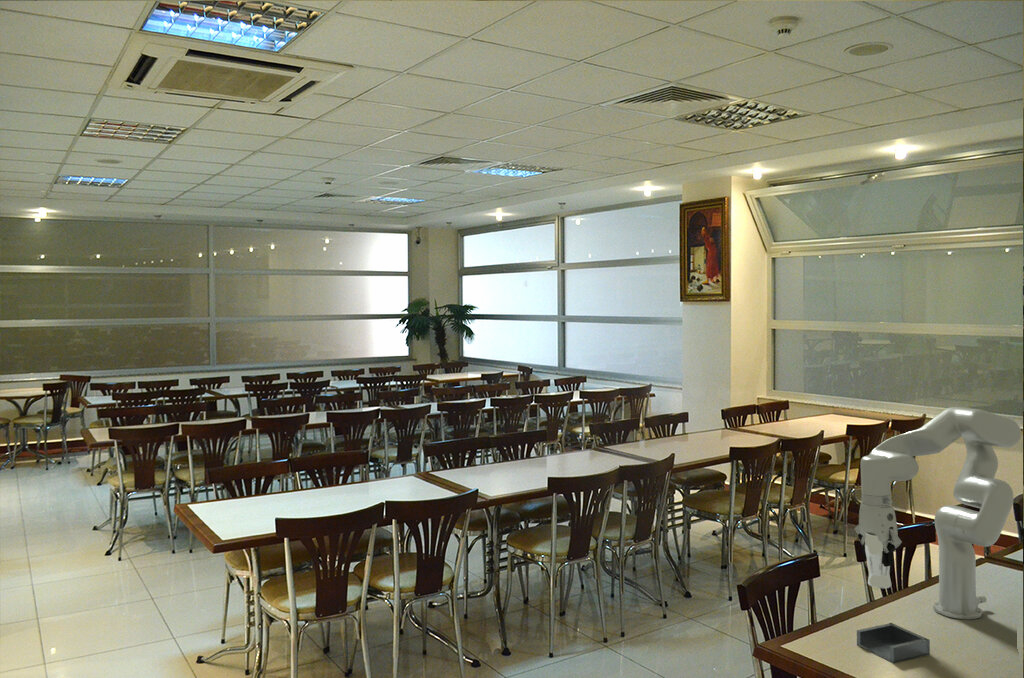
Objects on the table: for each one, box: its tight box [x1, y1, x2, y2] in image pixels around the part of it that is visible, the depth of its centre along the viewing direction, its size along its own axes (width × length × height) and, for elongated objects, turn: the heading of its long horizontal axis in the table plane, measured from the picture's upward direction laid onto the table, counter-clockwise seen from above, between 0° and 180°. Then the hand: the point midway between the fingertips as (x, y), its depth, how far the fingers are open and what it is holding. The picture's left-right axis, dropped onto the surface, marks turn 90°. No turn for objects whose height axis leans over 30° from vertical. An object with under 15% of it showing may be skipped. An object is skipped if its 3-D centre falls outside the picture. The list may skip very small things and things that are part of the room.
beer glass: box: [865, 532, 892, 589], centre depth 223 cm, size 7×7×15 cm
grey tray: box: [856, 622, 931, 664], centre depth 210 cm, size 12×12×4 cm
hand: (878, 561), depth 223 cm, fingers closed on beer glass, 6 cm apart
